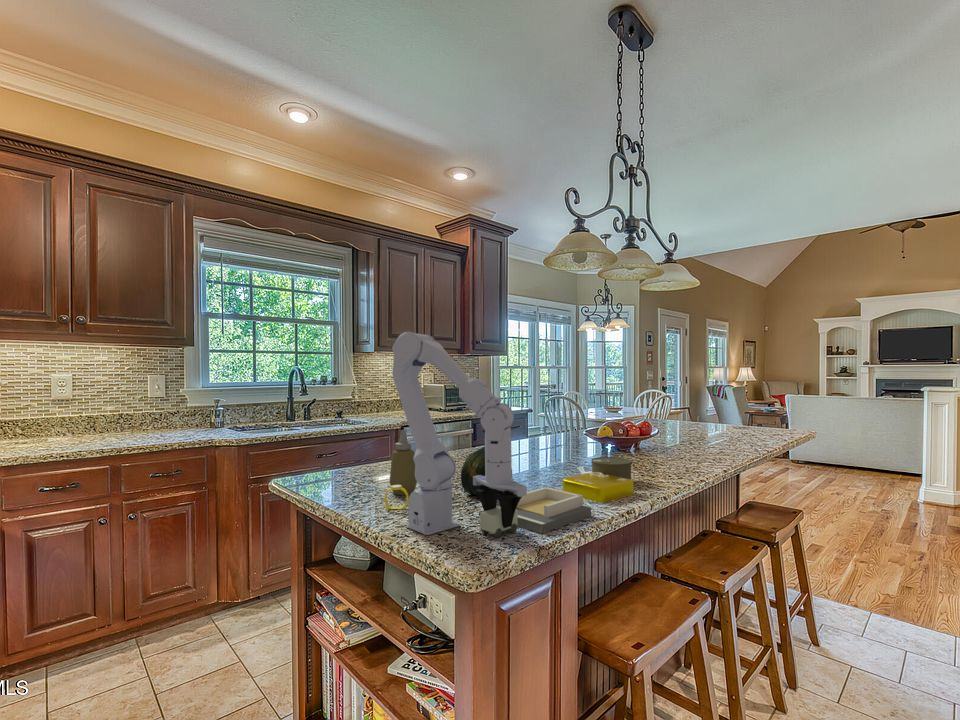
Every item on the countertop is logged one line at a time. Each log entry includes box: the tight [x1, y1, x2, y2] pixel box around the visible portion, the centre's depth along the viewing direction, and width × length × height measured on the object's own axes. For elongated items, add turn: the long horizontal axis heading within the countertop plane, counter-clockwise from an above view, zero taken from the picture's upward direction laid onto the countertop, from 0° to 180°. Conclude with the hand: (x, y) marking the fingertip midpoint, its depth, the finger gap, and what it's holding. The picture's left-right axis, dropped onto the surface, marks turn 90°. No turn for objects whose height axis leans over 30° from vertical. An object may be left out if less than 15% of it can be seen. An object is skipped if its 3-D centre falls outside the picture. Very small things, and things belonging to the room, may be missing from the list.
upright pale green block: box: [479, 506, 518, 539], centre depth 102 cm, size 7×4×5 cm, turn 133°
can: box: [591, 456, 632, 480], centre depth 147 cm, size 12×12×7 cm
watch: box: [384, 485, 410, 510], centre depth 120 cm, size 6×3×6 cm, turn 93°
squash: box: [460, 445, 504, 496], centre depth 135 cm, size 14×15×15 cm
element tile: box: [562, 471, 635, 503], centre depth 134 cm, size 15×15×5 cm
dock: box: [496, 486, 592, 534], centre depth 113 cm, size 18×16×4 cm
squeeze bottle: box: [389, 429, 418, 496], centre depth 136 cm, size 8×8×18 cm
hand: (499, 523), depth 102 cm, fingers closed on upright pale green block, 4 cm apart
